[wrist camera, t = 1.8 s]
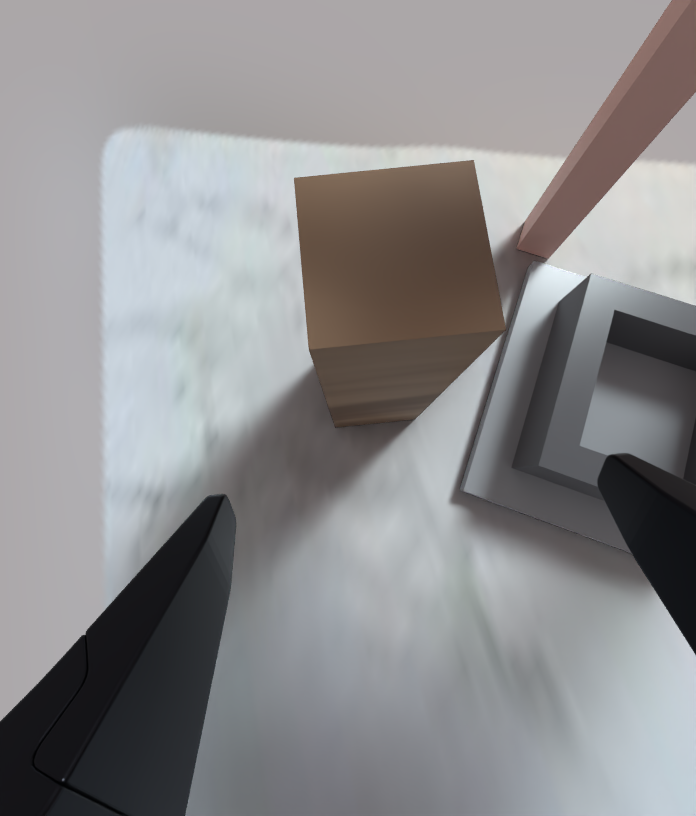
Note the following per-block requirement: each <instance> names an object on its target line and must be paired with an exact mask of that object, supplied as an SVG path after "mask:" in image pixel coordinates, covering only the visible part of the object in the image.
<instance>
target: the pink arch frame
mask: <svg viewBox="0 0 696 816" xmlns="http://www.w3.org/2000/svg"><path fill="white" fill-rule="evenodd" d="M695 92H696V0H672V1H671V2H670V4H669V5H668V7H667V8H666V10H665V11H664V13H663V14H662V16H661V17H660V19H659V20H658V22H657V23H656V25H655V26H654V28H653V29H652V31H651V33H650V34H649V36H648V37H647V38H646V40H645V41H644V43H643V44H642V46H641V47H640V49H639V50H638V52H637V54H636V55H635V56H634V58H633V60H632V61H631V63H630V64H629V66H628V67H627V69H626V70H625V72H624V73H623V75H622V76H621V78H620V79H619V81H618V82H617V84H616V85H615V87H614V88H613V90H612V91H611V93H610V94H609V96H608V97H607V99H606V100H605V102H604V103H603V105H602V106H601V108H600V109H599V111H598V112H597V114H596V115H595V117H594V118H593V120H592V121H591V123H590V124H589V126H588V127H587V129H586V130H585V132H584V133H583V135H582V136H581V138H580V139H579V141H578V142H577V144H576V145H575V147H574V148H573V150H572V151H571V153H570V154H569V156H568V157H567V159H566V160H565V162H564V163H563V165H562V166H561V168H560V169H559V171H558V172H557V174H556V175H555V177H554V178H553V180H552V181H551V183H550V184H549V186H548V187H547V189H546V190H545V192H544V194H543V195H542V197H541V198H540V200H539V201H538V203H537V204H536V206H535V207H534V209H533V210H532V212H531V213H530V215H529V216H528V218H527V219H526V221H525V223H524V226H523V229H522V232H521V236H520V239H519V242H518V245H517V248H516V249H518V250H522V251H525V252H528V253H531V254H534V255H538V256H541V257H544V258H547V259H549V258H550V256H551V255H552V254H553V253H554V252H555V251H556V250H557V249H558V247H559V246H560V245H561V244H562V243H563V242H564V241H565V239H566V238H567V237H568V236H569V235H570V234H571V233H572V232H573V230H574V229H575V228H576V227H577V226H578V225H579V224H580V222H581V221H582V220H583V219H584V218H585V217H586V216H587V215H588V213H589V212H590V211H591V210H592V209H593V208H594V207H595V205H596V204H597V203H598V202H599V201H600V200H601V199H602V198H603V196H604V195H605V194H606V193H607V192H608V191H609V190H610V188H611V187H612V186H613V185H614V184H615V183H616V182H617V181H618V179H619V178H620V177H621V176H622V175H623V174H624V173H625V171H626V170H627V169H628V168H629V167H630V166H631V165H632V164H633V162H634V161H635V160H636V159H637V158H638V157H639V156H640V154H641V153H642V152H643V151H644V150H645V149H646V148H647V147H648V145H649V144H650V143H651V142H652V141H653V140H654V139H655V137H656V136H657V135H658V134H659V133H660V132H661V131H662V129H663V128H664V127H665V126H666V125H667V124H668V123H669V122H670V120H671V119H672V118H673V117H674V116H675V115H676V114H677V112H678V111H679V110H680V109H681V108H682V107H683V106H684V105H685V103H686V102H687V101H688V100H689V99H690V98H691V97H692V96H693V94H694V93H695Z"/></svg>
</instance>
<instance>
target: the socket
mask: <svg viewBox="0 0 696 816" xmlns="http://www.w3.org/2000/svg"><path fill="white" fill-rule="evenodd" d="M617 453H629V454H632V455H634V456H636V457H638V458H640V459H642V460H644V461H646V462H649V463H651V464H653V465H655V466H657V467H659V468H661V469H663V470H665V471H667V472H669V473H671V474H673V475H676V476H678V477H680V478H682V479H684V480H686V481H688V482H690V483H692V484H694V485H696V306H694V305H691V304H688V303H685V302H681V301H678V300H675V299H672V298H669V297H665V296H662V295H659V294H656V293H653V292H649V291H646V290H643V289H640V288H637V287H634V286H630V285H627V284H624V283H621V282H618V281H614V280H611V279H608V278H605V277H602V276H598V275H595V274H592V273H591V274H590V275H589V276H588V277H585V276H582V275H579V274H575V273H572V272H569V271H566V270H563V269H560V268H556V267H553V266H550V265H547V264H544V263H540V262H537V261H533V262H532V264H531V265H530V266H529V267H528V269H527V273H526V276H525V279H524V282H523V286H522V289H521V292H520V295H519V299H518V302H517V305H516V308H515V312H514V315H513V318H512V321H511V325H510V328H509V331H508V334H507V338H506V341H505V344H504V347H503V350H502V354H501V357H500V360H499V363H498V367H497V370H496V373H495V376H494V380H493V383H492V386H491V389H490V393H489V396H488V399H487V402H486V406H485V409H484V412H483V415H482V419H481V422H480V425H479V428H478V432H477V435H476V438H475V441H474V445H473V448H472V451H471V454H470V458H469V461H468V464H467V467H466V471H465V474H464V477H463V480H462V484H461V487H460V491H463V492H465V493H468V494H471V495H474V496H476V497H479V498H482V499H485V500H487V501H490V502H493V503H495V504H498V505H501V506H504V507H506V508H509V509H512V510H514V511H517V512H520V513H523V514H525V515H528V516H531V517H533V518H536V519H539V520H542V521H544V522H547V523H550V524H553V525H555V526H558V527H561V528H563V529H566V530H569V531H572V532H574V533H577V534H580V535H582V536H585V537H588V538H591V539H593V540H596V541H599V542H601V543H604V544H607V545H610V546H612V547H615V548H618V549H620V550H623V551H626V552H629V553H631V551H630V550H629V548H628V546H627V545H626V543H625V541H624V539H623V537H622V535H621V533H620V531H619V529H618V527H617V525H616V523H615V521H614V519H613V517H612V515H611V513H610V511H609V509H608V507H607V505H606V503H605V501H604V499H603V497H602V495H601V493H600V491H599V489H598V485H597V478H598V476H599V473H600V471H601V468H602V466H603V463H604V461H605V459H606V457H607V456H608V455H610V454H617ZM631 554H632V553H631Z"/></svg>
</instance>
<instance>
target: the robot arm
mask: <svg viewBox="0 0 696 816" xmlns="http://www.w3.org/2000/svg"><path fill="white" fill-rule="evenodd" d="M597 485H598V489H599V491H600V493H601V495H602V497H603V499H604V501H605V503H606V505H607V507H608V509H609V511H610V513H611V515H612V517H613V519H614V521H615V523H616V525H617V527H618V529H619V531H620V533H621V535H622V537H623V539H624V541H625V543H626V545H627V546H628V548H629V550H630V551H631V553H632V555H633V556H634V558H635V560H636V561H637V563H638V564H639V566H640V568H641V569H642V571H643V572H644V574H645V576H646V577H647V579H648V580H649V582H650V583H651V585H652V587H653V588H654V590H655V591H656V593H657V594H658V596H659V598H660V599H661V601H662V602H663V604H664V606H665V607H666V609H667V610H668V612H669V613H670V615H671V617H672V618H673V620H674V621H675V623H676V625H677V626H678V628H679V629H680V631H681V632H682V634H683V636H684V637H685V639H686V640H687V642H688V643H689V645H690V647H691V648H692V650H693V651H694V653H695V655H696V485H694V484H692V483H690V482H688V481H686V480H684V479H682V478H680V477H678V476H676V475H673V474H671V473H669V472H667V471H665V470H663V469H661V468H659V467H657V466H655V465H653V464H651V463H649V462H646V461H644V460H642V459H640V458H638V457H636V456H634V455H632V454H629V453H617V454H610V455H608V456H607V457H606V459H605V461H604V463H603V466H602V468H601V471H600V473H599V476H598V478H597ZM235 533H236V518H235V515H234V512H233V509H232V507H231V504H230V501H229V499H228V497H227V496H226V495H225V494H218V495H210V496H208V497H206V498H205V499H204V500H203V502H202V503H201V504H200V505H199V506H198V507H197V508H196V509H195V510H194V512H193V513H192V514H191V515H190V516H189V517H188V518H187V519H186V520H185V522H184V523H183V524H182V525H181V526H180V527H179V528H178V529H177V530H176V532H175V533H174V534H173V535H172V536H171V537H170V538H169V539H168V540H167V542H166V543H165V544H164V545H163V546H162V547H161V548H160V549H159V551H158V552H157V553H156V554H155V555H154V556H153V557H152V558H151V559H150V561H149V562H148V563H147V564H146V565H145V566H144V567H143V568H142V569H141V571H140V572H139V573H138V574H137V575H136V576H135V577H134V578H133V579H132V581H131V582H130V583H129V584H128V585H127V586H126V587H125V588H124V589H123V591H122V592H121V593H120V594H119V595H118V596H117V597H116V598H115V600H114V601H113V602H112V603H111V604H110V605H109V606H108V607H107V608H106V610H105V611H104V612H103V613H102V614H101V615H100V616H99V617H98V618H97V620H96V621H95V622H94V623H93V624H92V625H91V626H90V627H89V628H88V630H87V631H86V635H82V636H81V637H80V638H79V639H78V641H77V642H76V643H75V644H74V645H73V646H72V647H71V649H69V651H68V652H67V653H66V654H65V655H64V656H63V657H62V658H61V659H60V660H59V661H58V662H57V664H56V665H55V666H54V667H53V668H52V669H51V670H50V671H49V672H48V673H47V674H46V676H45V677H44V678H43V679H42V680H41V681H40V682H39V683H38V684H37V685H36V686H35V687H34V688H33V689H32V690H31V691H30V692H29V693H28V694H27V695H26V696H25V697H24V698H23V699H22V700H21V701H20V702H19V703H18V704H17V705H16V706H15V707H14V708H13V709H12V710H11V711H10V712H9V713H8V714H7V715H6V716H5V717H4V718H3V719H2V720H1V721H0V816H185V813H186V808H187V803H188V798H189V793H190V788H191V783H192V778H193V773H194V768H195V763H196V759H197V754H198V749H199V744H200V739H201V734H202V729H203V724H204V719H205V714H206V709H207V704H208V699H209V694H210V689H211V684H212V679H213V674H214V669H215V664H216V659H217V654H218V649H219V644H220V639H221V635H222V630H223V625H224V620H225V615H226V610H227V605H228V600H229V594H230V588H231V579H232V568H233V556H234V545H235Z"/></svg>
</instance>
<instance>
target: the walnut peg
mask: <svg viewBox="0 0 696 816" xmlns="http://www.w3.org/2000/svg"><path fill="white" fill-rule="evenodd" d="M294 184H295V195H296V207H297V218H298V230H299V241H300V253H301V265H302V276H303V288H304V299H305V311H306V322H307V334H308V346H309V352H310V355H311V357H312V360H313V363H314V366H315V369H316V372H317V375H318V378H319V381H320V384H321V387H322V390H323V393H324V396H325V399H326V402H327V404H328V407H329V410H330V413H331V416H332V419H333V422H334V425H335V428H336V427H346V426H355V425H365V424H375V423H384V422H394V421H404V420H414V419H416V418H417V417H418V416H419V415H420V414H421V413H422V412H423V411H424V410H425V409H426V408H427V407H428V406H429V405H430V404H431V403H432V402H433V401H434V400H435V399H436V398H437V397H438V396H439V395H440V394H441V393H442V392H443V391H444V390H445V389H446V388H447V387H448V386H449V385H450V384H451V383H452V382H453V381H454V380H455V379H456V378H457V377H458V376H459V375H460V374H461V373H462V372H463V371H465V370H466V369H467V368H468V367H469V366H470V365H471V364H472V363H473V362H474V361H475V360H476V359H477V358H478V357H479V356H480V355H481V354H482V353H483V352H484V351H485V350H486V349H487V348H488V347H489V346H490V345H491V344H492V343H493V342H494V341H495V340H496V339H497V338H498V337H499V336H500V335H501V334H502V333H503V332H504V331H505V330H506V327H505V322H504V317H503V311H502V306H501V301H500V296H499V290H498V285H497V280H496V275H495V269H494V264H493V259H492V254H491V248H490V243H489V238H488V233H487V227H486V222H485V217H484V212H483V206H482V201H481V196H480V191H479V185H478V180H477V175H476V169H475V164H474V160H470V161H460V162H450V163H440V164H430V165H420V166H410V167H400V168H390V169H379V170H369V171H359V172H349V173H339V174H329V175H319V176H309V177H299V178H294Z"/></svg>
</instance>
